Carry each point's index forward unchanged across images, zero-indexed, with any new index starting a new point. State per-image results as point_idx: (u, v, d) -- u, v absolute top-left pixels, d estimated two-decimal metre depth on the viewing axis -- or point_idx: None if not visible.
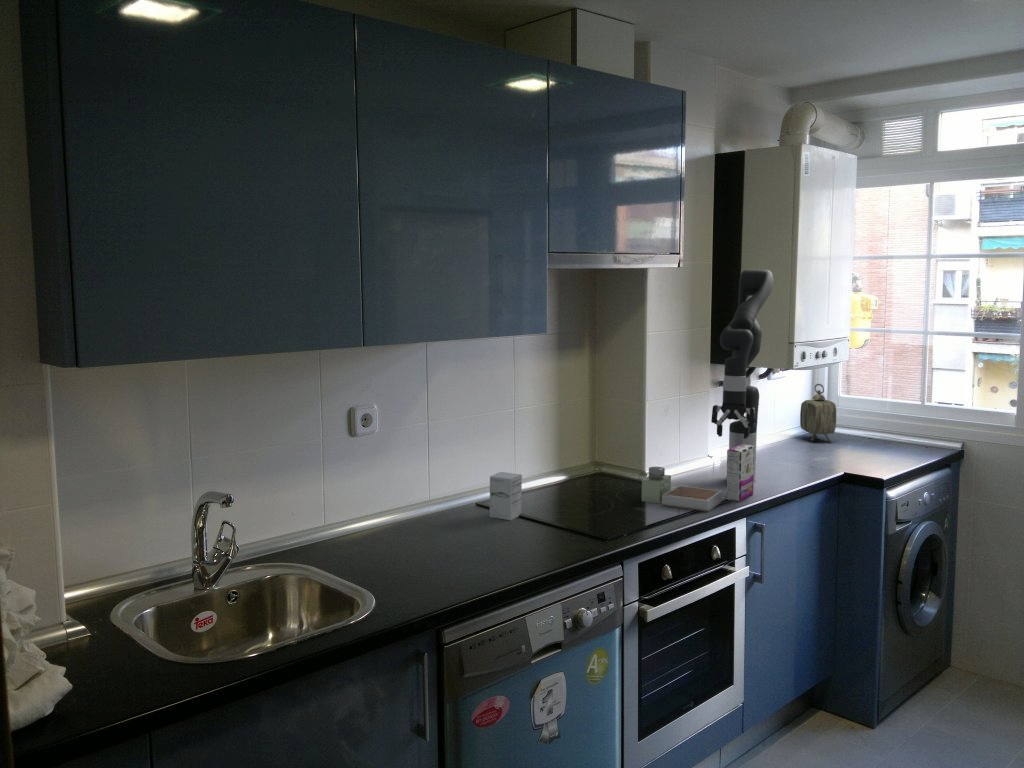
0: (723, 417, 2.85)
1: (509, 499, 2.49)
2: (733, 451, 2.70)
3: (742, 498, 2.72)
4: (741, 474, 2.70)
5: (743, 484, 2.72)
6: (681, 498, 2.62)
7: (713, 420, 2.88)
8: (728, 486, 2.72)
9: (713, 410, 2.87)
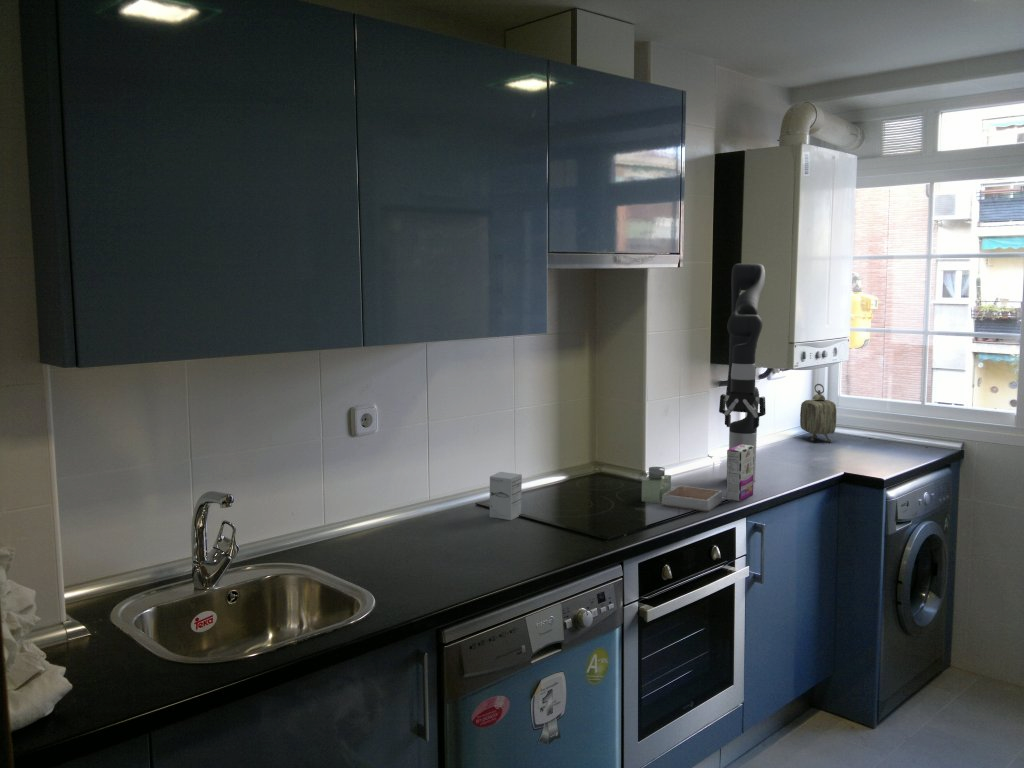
0: (731, 407, 2.73)
1: (509, 499, 2.49)
2: (733, 451, 2.70)
3: (742, 498, 2.72)
4: (741, 474, 2.70)
5: (743, 484, 2.72)
6: (681, 498, 2.62)
7: (721, 410, 2.75)
8: (728, 486, 2.72)
9: (721, 399, 2.75)
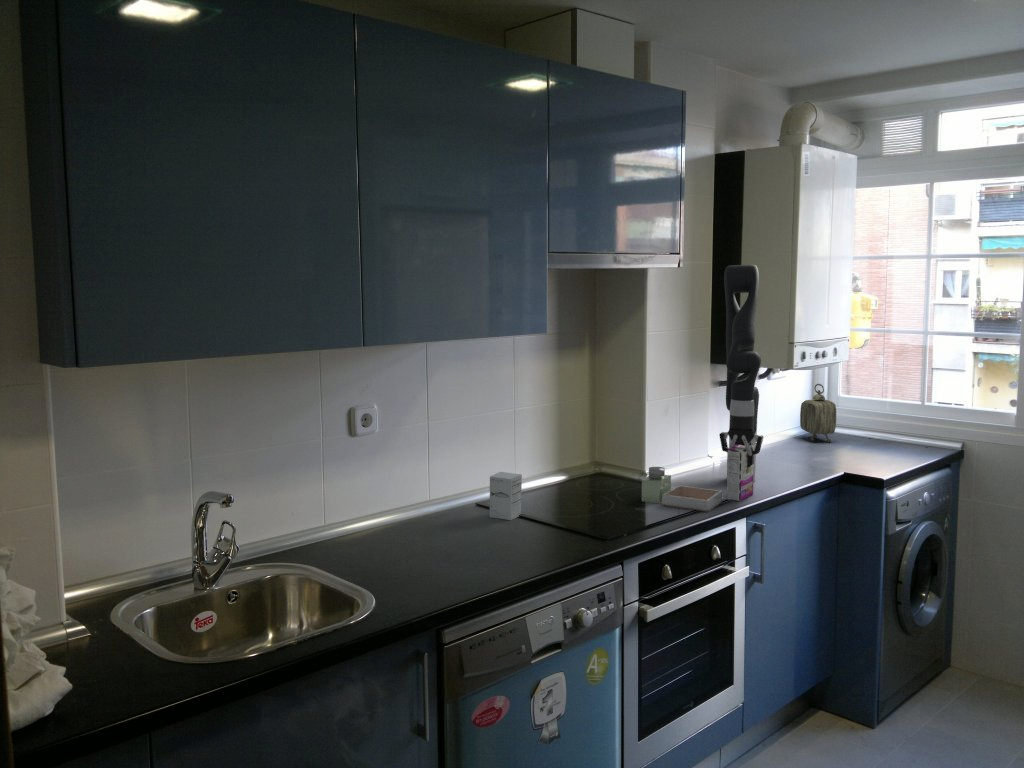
0: (732, 444, 2.74)
1: (509, 499, 2.49)
2: (733, 451, 2.70)
3: (742, 498, 2.72)
4: (741, 474, 2.70)
5: (743, 484, 2.72)
6: (681, 498, 2.62)
7: (724, 448, 2.76)
8: (728, 486, 2.72)
9: (721, 438, 2.76)
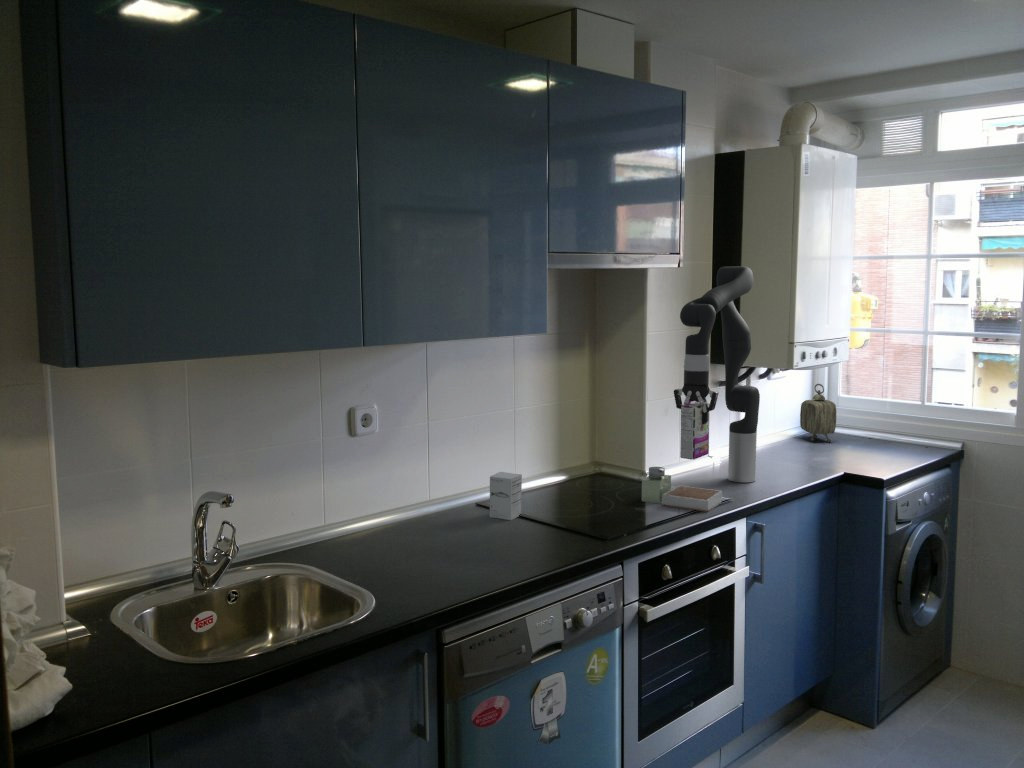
0: (686, 400, 2.64)
1: (509, 499, 2.49)
2: (687, 407, 2.60)
3: (697, 456, 2.62)
4: (695, 431, 2.60)
5: (698, 442, 2.62)
6: (681, 498, 2.62)
7: (678, 405, 2.66)
8: (682, 444, 2.62)
9: (675, 395, 2.66)
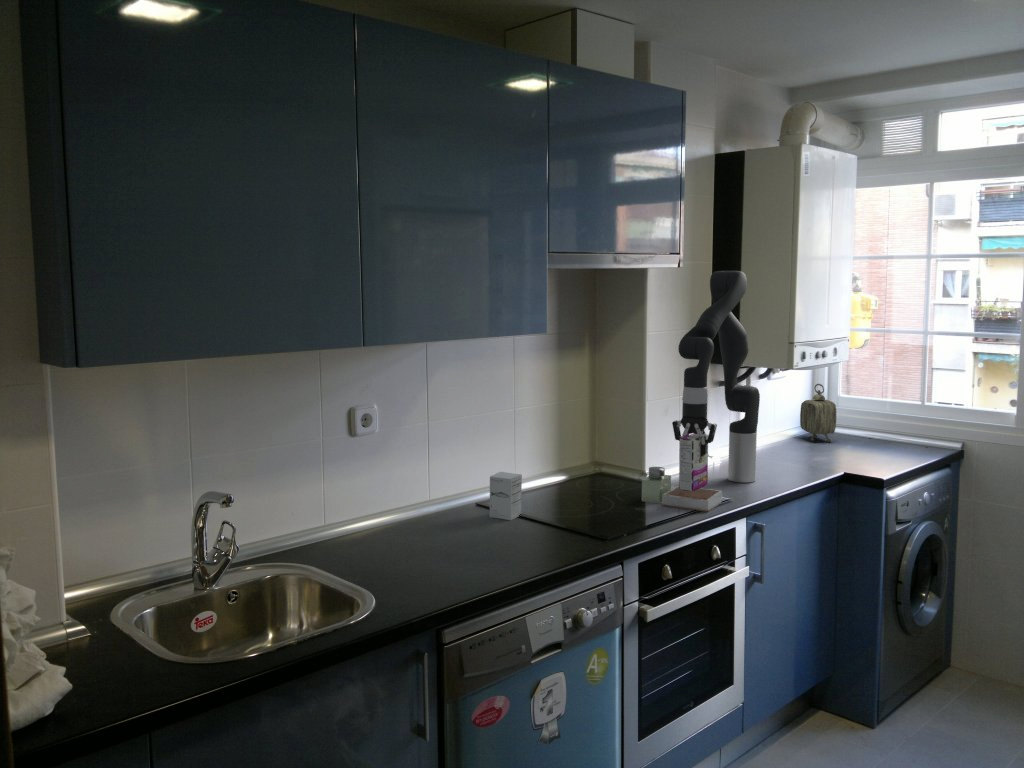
0: (685, 432, 2.65)
1: (509, 499, 2.49)
2: (685, 440, 2.61)
3: (695, 488, 2.63)
4: (693, 463, 2.61)
5: (696, 474, 2.63)
6: (681, 498, 2.62)
7: (677, 437, 2.67)
8: (680, 476, 2.64)
9: (674, 426, 2.67)
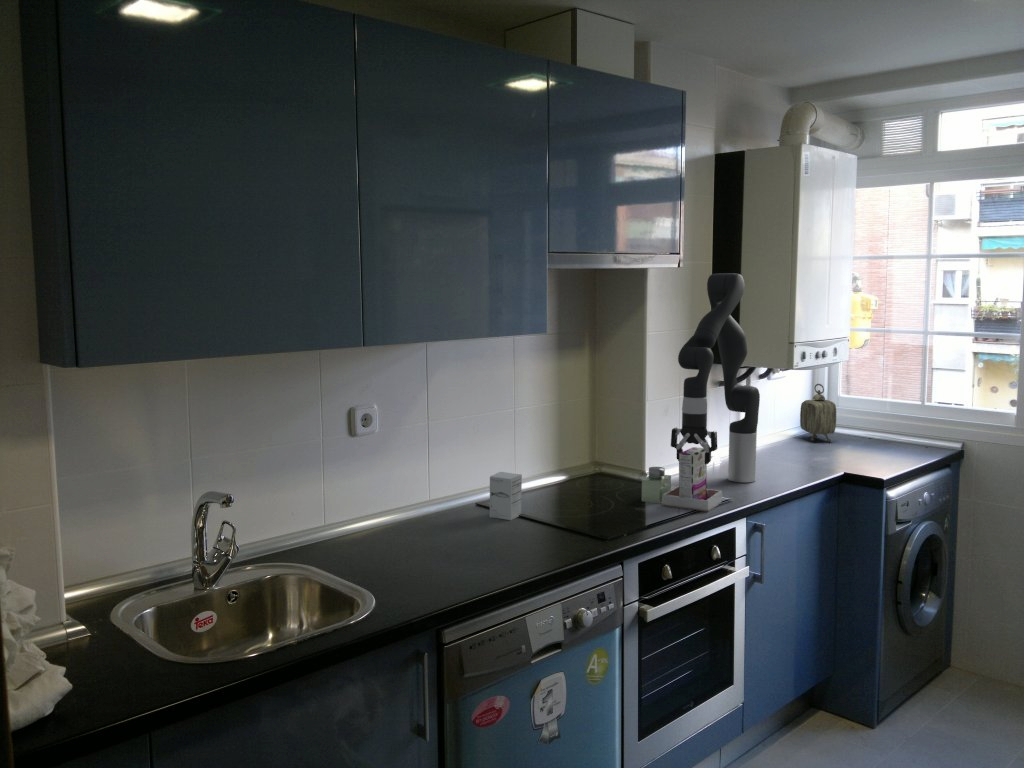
0: (683, 441, 2.66)
1: (509, 499, 2.49)
2: (685, 454, 2.62)
3: None
4: (693, 477, 2.62)
5: (696, 488, 2.64)
6: (681, 498, 2.62)
7: (672, 444, 2.68)
8: (680, 490, 2.64)
9: (672, 433, 2.68)
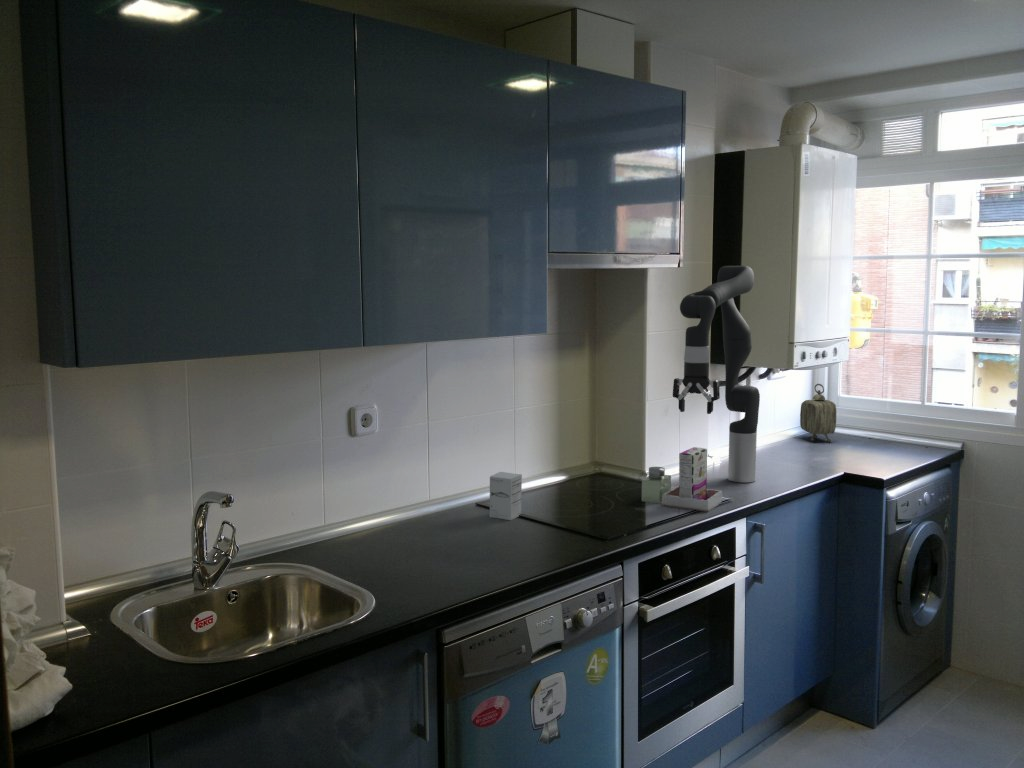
0: (685, 391, 2.64)
1: (509, 499, 2.49)
2: (685, 454, 2.62)
3: None
4: (693, 478, 2.62)
5: (696, 488, 2.64)
6: (681, 498, 2.62)
7: (674, 394, 2.67)
8: (680, 490, 2.64)
9: (674, 384, 2.66)
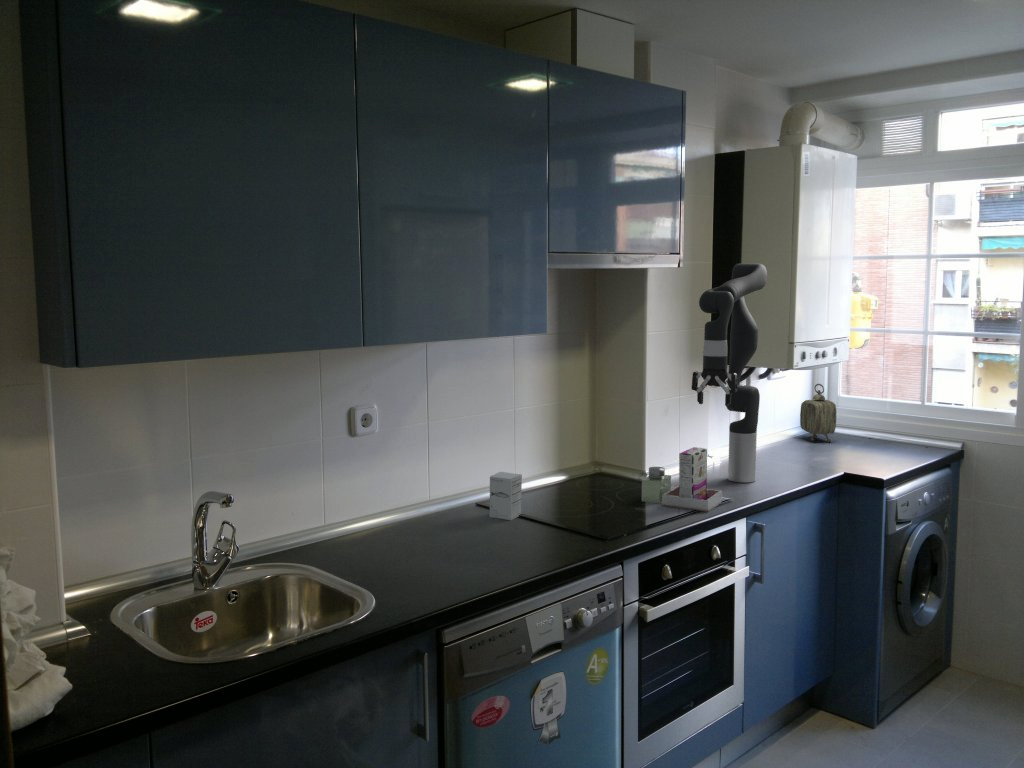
0: (703, 384, 2.72)
1: (509, 499, 2.49)
2: (685, 454, 2.62)
3: None
4: (693, 478, 2.62)
5: (696, 488, 2.64)
6: (681, 498, 2.62)
7: (693, 387, 2.75)
8: (680, 490, 2.64)
9: (693, 377, 2.74)
